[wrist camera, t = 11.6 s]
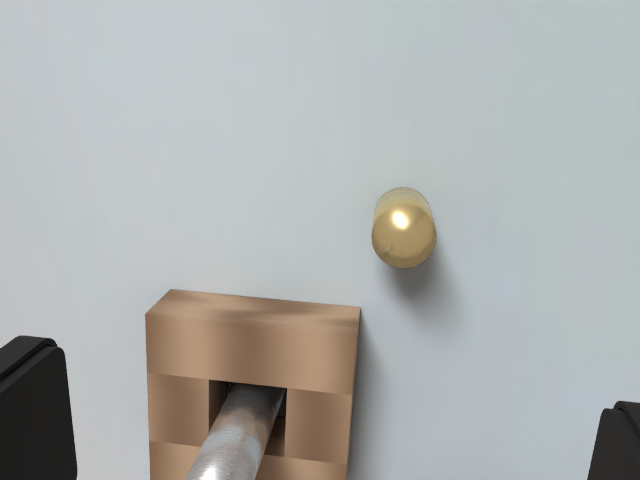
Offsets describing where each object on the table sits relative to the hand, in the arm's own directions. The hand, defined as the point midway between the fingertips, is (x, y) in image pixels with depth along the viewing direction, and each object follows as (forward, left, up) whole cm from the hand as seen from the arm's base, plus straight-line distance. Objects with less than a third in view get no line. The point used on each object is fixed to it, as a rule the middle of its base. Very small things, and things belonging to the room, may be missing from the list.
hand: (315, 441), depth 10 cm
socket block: (+6, +14, -25) cm, 29 cm away
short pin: (-2, +2, -25) cm, 25 cm away
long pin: (+6, +14, -25) cm, 29 cm away
